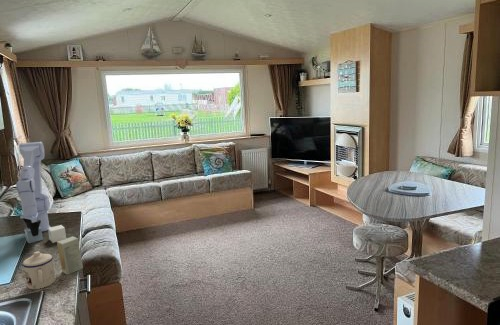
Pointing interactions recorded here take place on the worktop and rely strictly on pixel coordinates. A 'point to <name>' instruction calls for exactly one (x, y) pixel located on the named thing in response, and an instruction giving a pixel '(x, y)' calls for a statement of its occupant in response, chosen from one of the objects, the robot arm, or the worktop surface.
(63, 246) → the skincare box
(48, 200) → the robot arm
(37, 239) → the cover
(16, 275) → the worktop surface
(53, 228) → the cover
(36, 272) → the teacup with lid
